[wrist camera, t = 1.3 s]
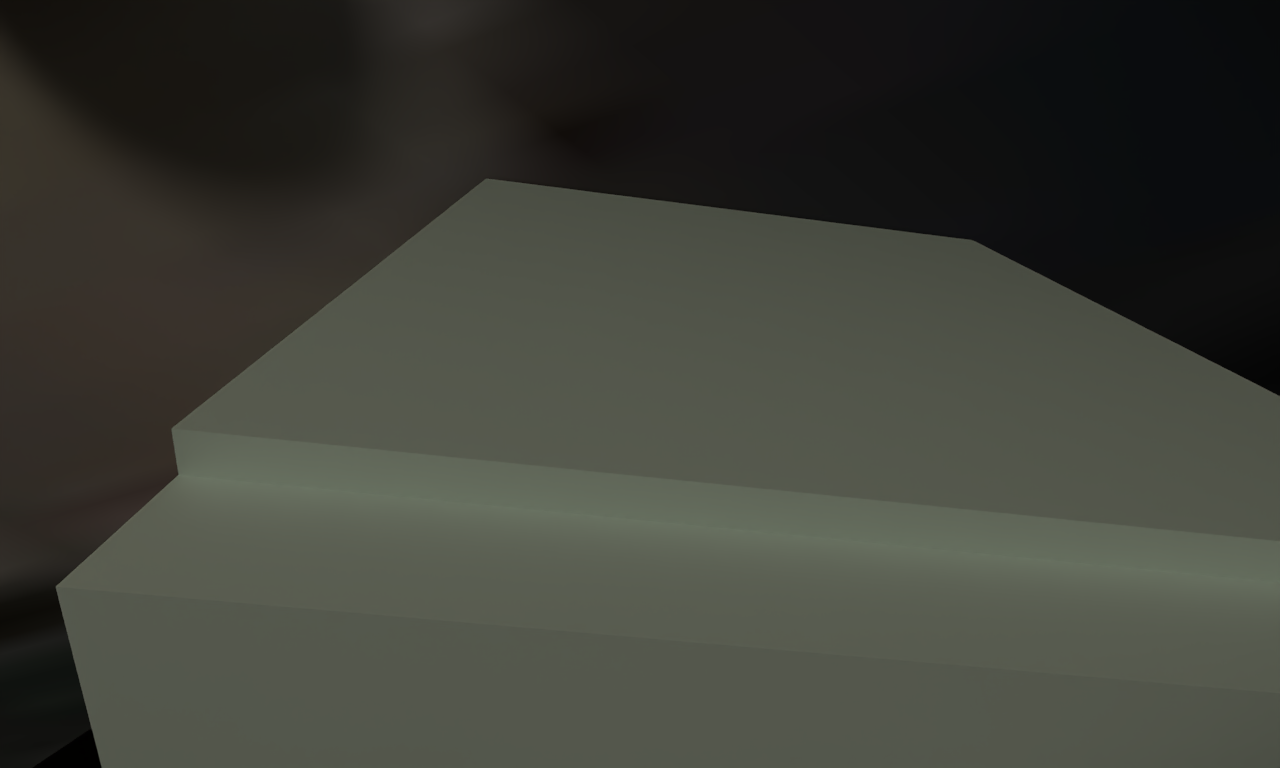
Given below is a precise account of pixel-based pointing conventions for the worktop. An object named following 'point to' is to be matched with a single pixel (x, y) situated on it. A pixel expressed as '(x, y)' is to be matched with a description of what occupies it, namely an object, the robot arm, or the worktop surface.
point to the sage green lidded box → (698, 517)
